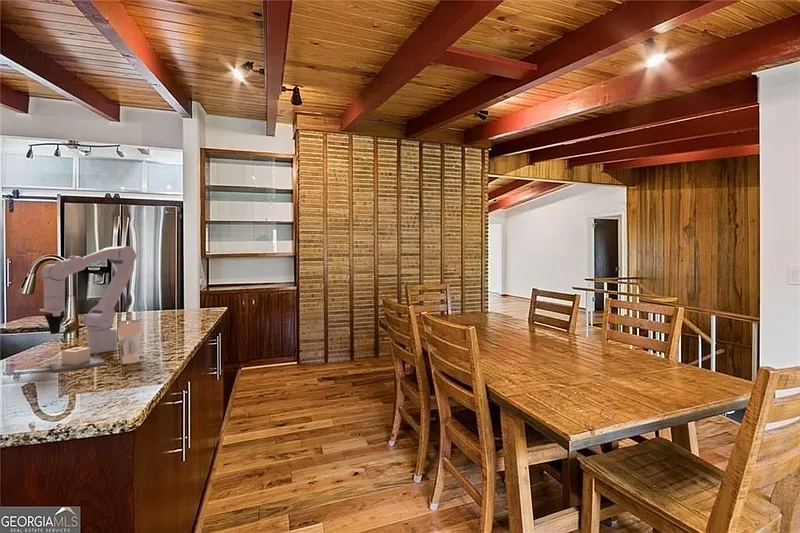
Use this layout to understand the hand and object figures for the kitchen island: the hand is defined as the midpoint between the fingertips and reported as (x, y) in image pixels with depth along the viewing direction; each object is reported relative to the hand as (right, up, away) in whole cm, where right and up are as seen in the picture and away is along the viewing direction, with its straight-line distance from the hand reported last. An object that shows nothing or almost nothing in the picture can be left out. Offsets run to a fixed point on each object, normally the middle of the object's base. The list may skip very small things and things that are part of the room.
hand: (54, 333), depth 146 cm
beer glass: (+28, -11, -1) cm, 30 cm away
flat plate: (+13, -10, -5) cm, 17 cm away
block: (+12, -9, -5) cm, 16 cm away
